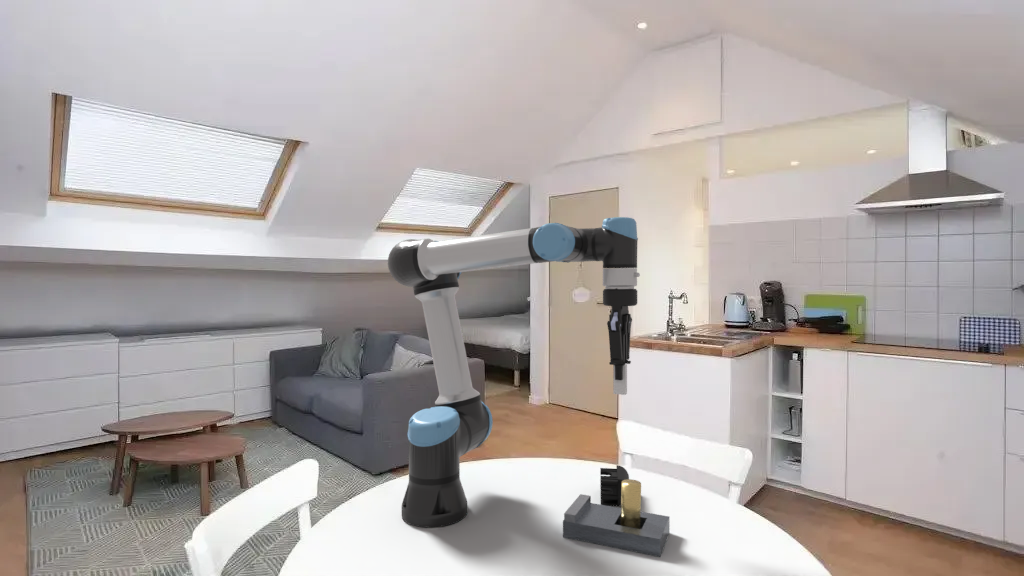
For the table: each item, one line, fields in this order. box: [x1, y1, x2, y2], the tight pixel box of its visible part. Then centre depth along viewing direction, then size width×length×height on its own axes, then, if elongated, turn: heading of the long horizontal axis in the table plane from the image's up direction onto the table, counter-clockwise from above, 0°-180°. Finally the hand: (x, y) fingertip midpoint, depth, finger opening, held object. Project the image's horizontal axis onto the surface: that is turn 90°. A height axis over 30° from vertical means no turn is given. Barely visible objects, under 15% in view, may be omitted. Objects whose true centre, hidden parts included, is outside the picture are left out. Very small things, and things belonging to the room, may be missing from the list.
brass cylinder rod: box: [620, 478, 642, 529], centre depth 115 cm, size 4×4×10 cm
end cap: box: [599, 465, 630, 507], centre depth 135 cm, size 10×7×7 cm
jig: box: [562, 493, 670, 558], centre depth 117 cm, size 20×11×5 cm, turn 65°
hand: (620, 393), depth 123 cm, fingers closed
